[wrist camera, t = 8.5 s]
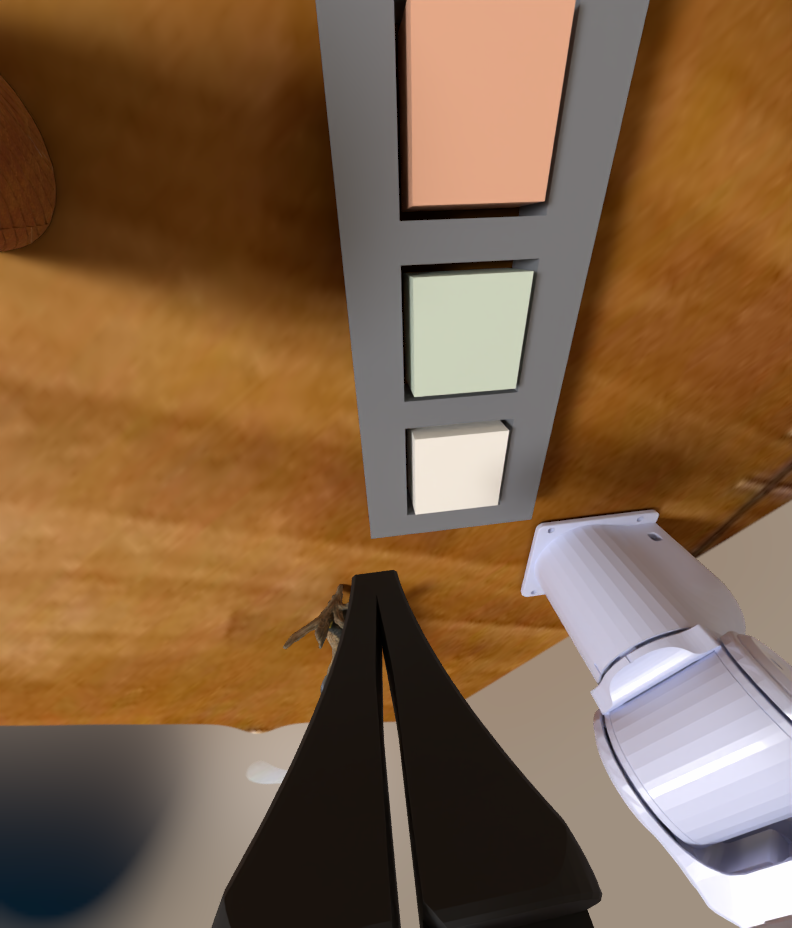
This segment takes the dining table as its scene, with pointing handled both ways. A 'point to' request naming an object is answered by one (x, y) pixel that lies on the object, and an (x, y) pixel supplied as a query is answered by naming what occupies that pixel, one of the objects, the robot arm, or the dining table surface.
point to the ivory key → (456, 465)
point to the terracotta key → (479, 100)
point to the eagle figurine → (325, 626)
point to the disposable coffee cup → (22, 175)
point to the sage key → (464, 329)
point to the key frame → (465, 248)
